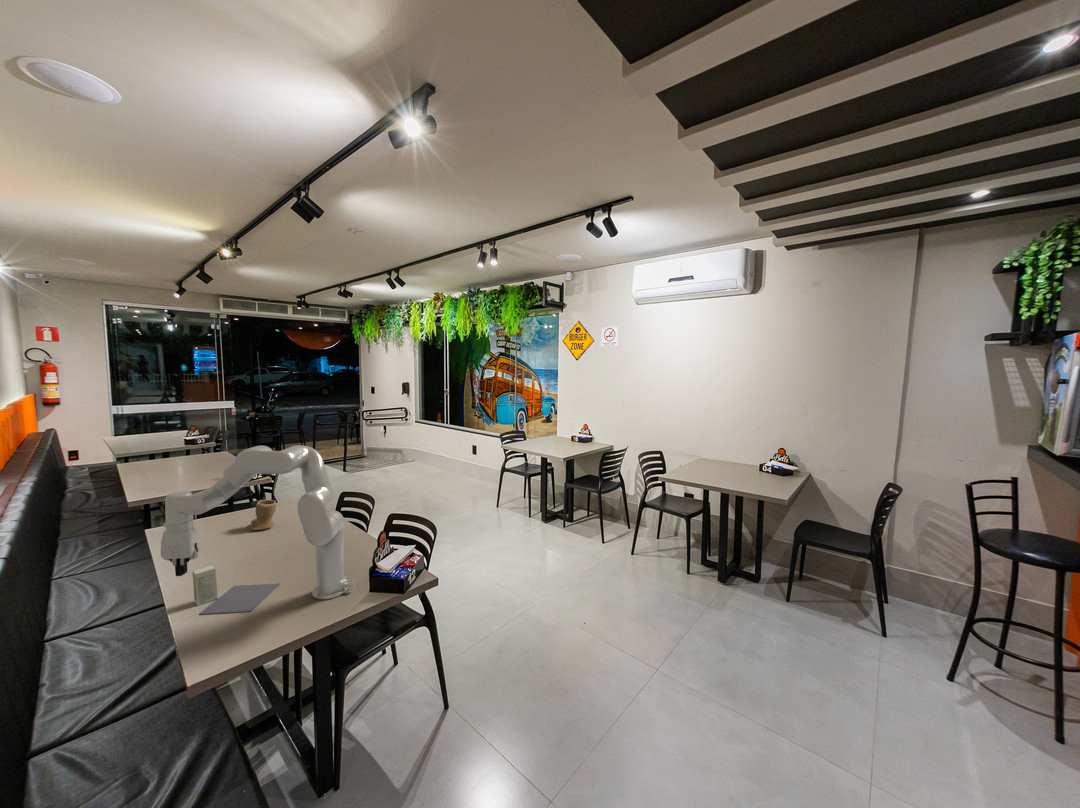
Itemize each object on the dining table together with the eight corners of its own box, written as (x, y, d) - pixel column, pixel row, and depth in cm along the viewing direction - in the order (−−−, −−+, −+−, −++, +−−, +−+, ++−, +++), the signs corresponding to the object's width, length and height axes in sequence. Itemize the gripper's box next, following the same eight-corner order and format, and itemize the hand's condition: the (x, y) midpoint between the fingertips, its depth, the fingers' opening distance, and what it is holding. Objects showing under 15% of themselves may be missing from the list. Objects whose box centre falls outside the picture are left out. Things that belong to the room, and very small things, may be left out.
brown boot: (277, 528, 219) (276, 502, 218) (251, 533, 212) (250, 506, 211) (276, 520, 231) (275, 495, 230) (251, 524, 224) (250, 499, 223)
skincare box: (215, 595, 152) (213, 564, 151) (218, 599, 149) (216, 567, 148) (193, 602, 147) (191, 570, 146) (196, 606, 144) (194, 574, 143)
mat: (279, 584, 160) (279, 583, 160) (251, 611, 141) (251, 610, 141) (233, 586, 158) (233, 585, 158) (199, 614, 139) (199, 613, 139)
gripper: (148, 530, 141) (150, 580, 142) (194, 529, 142) (196, 578, 144) (165, 522, 148) (167, 570, 149) (209, 521, 150) (210, 568, 151)
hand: (181, 574), depth 146 cm, fingers closed
